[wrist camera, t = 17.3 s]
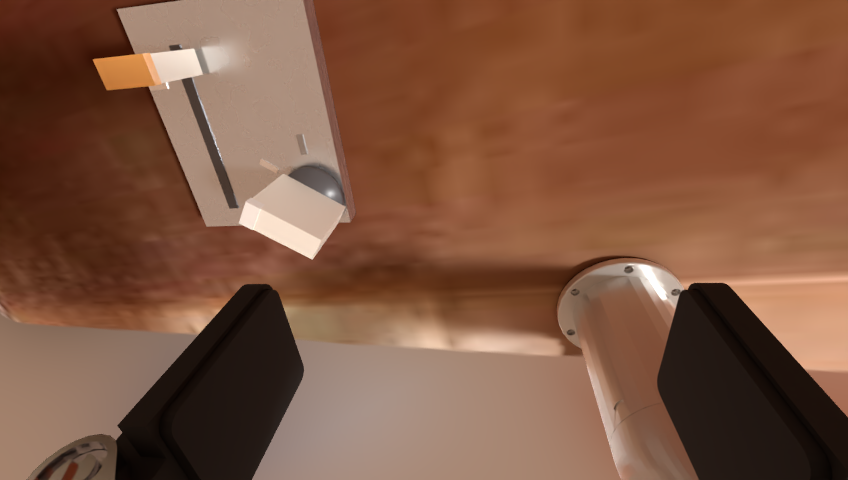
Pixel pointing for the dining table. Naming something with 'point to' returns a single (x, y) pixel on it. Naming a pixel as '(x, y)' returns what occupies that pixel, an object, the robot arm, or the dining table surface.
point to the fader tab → (147, 68)
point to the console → (243, 97)
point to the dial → (297, 209)
